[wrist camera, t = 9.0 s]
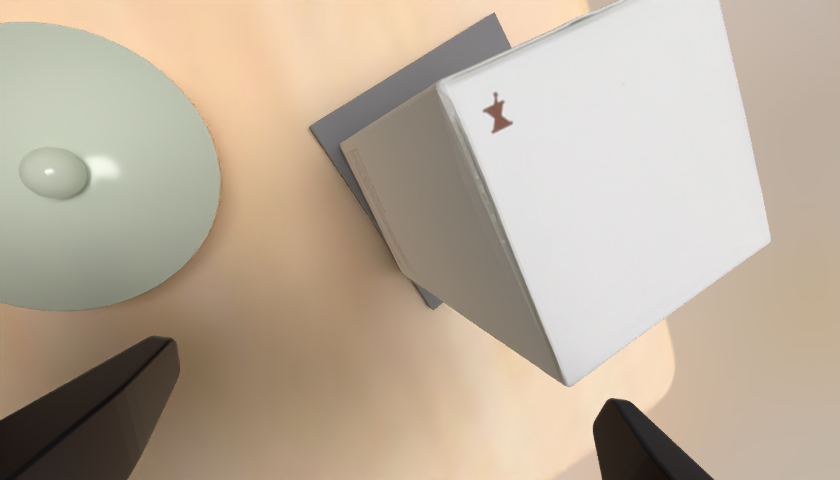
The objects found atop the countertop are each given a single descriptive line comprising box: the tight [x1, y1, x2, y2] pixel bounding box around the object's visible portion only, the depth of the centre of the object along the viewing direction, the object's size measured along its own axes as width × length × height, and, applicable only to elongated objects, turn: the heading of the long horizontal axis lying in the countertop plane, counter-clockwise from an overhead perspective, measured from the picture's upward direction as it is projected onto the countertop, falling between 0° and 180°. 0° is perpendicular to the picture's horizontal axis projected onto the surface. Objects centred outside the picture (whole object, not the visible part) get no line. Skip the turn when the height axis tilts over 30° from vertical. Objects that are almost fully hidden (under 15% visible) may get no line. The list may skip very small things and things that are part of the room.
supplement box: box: [340, 0, 771, 387], centre depth 15 cm, size 7×7×13 cm
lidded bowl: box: [0, 22, 221, 311], centre depth 14 cm, size 9×9×5 cm
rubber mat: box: [309, 12, 511, 310], centre depth 21 cm, size 11×11×1 cm
